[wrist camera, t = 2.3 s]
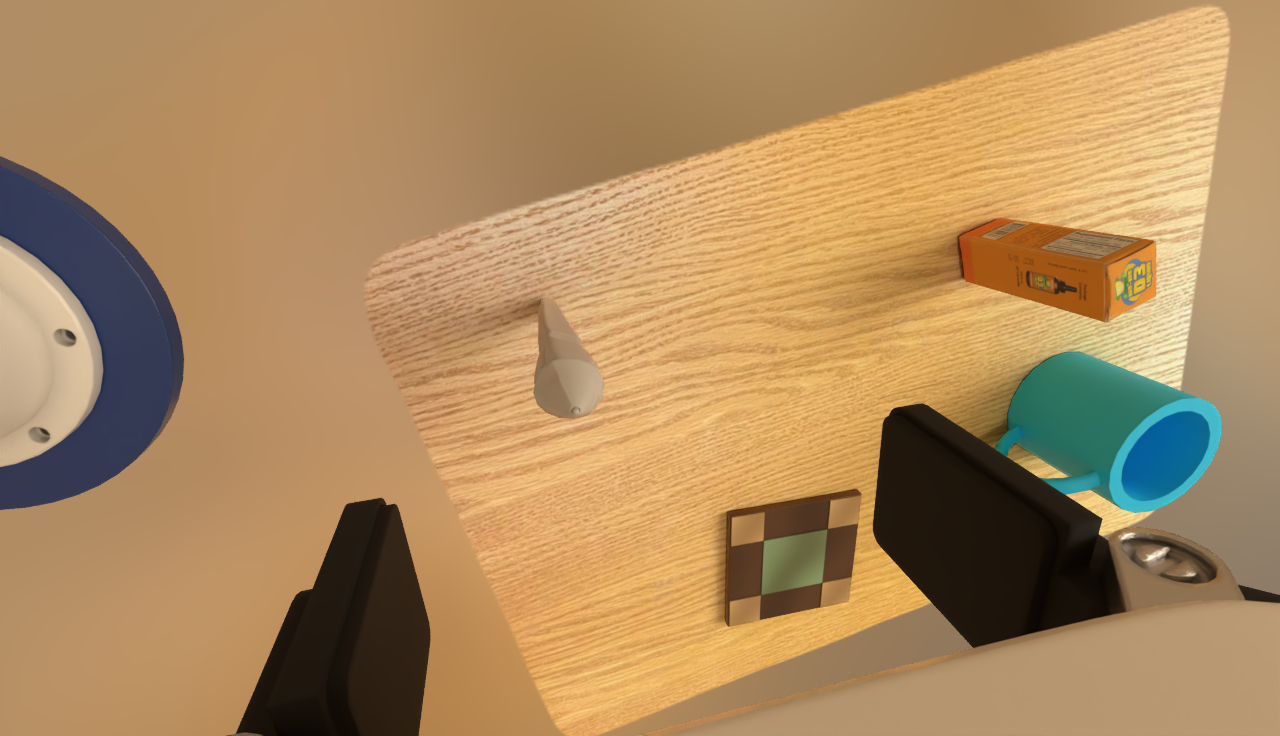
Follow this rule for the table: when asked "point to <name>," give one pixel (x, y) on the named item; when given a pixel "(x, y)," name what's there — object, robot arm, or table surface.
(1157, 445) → the mug
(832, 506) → the board
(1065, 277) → the supplement box
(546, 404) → the beige tapered rod
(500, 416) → the table surface
